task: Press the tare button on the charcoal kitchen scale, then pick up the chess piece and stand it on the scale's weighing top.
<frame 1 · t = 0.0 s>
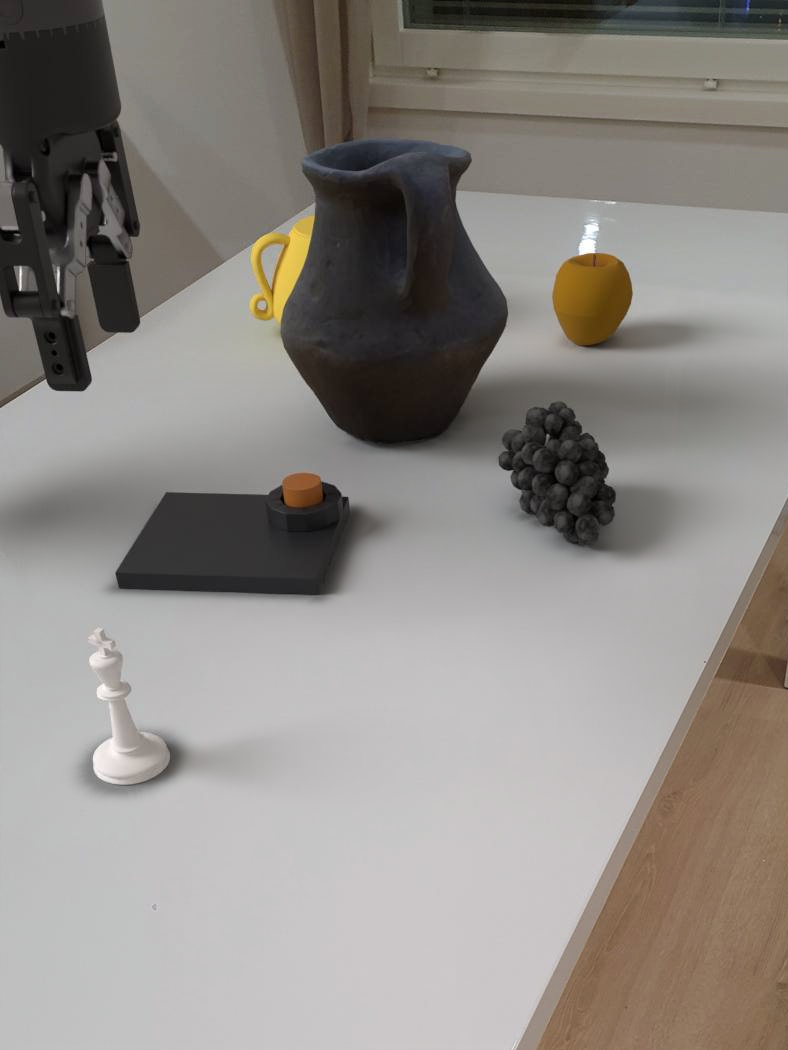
hand: (97, 358, 71), 25 cm above the table, tool pointing down, fingers open, 8 cm apart
tare button: (302, 490, 105), point 4 cm above the table, slide at 0.1 cm
pitcher: (404, 427, 123), on the table
apple: (590, 343, 139), on the table
chess piece: (132, 764, 84), on the table
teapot: (335, 323, 145), on the table
scale: (239, 548, 106), on the table
fruit: (559, 524, 108), on the table
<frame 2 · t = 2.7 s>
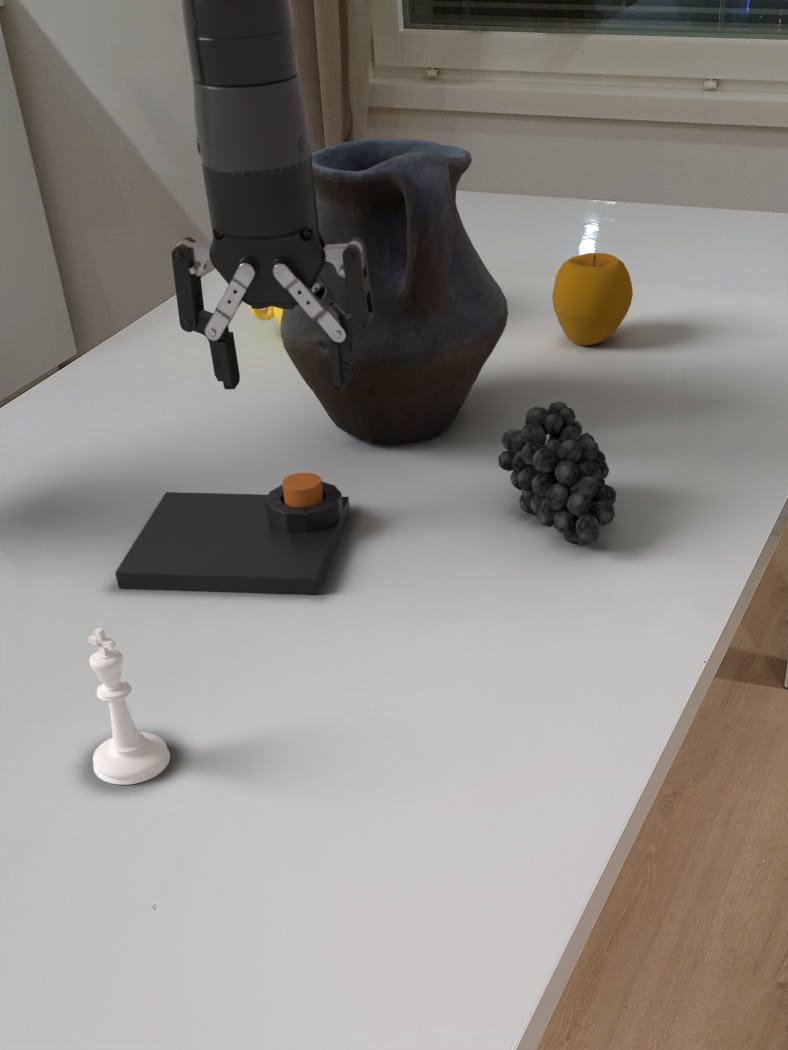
hand: (286, 386, 99), 13 cm above the table, tool pointing down, fingers open, 8 cm apart
nothing on the table moved.
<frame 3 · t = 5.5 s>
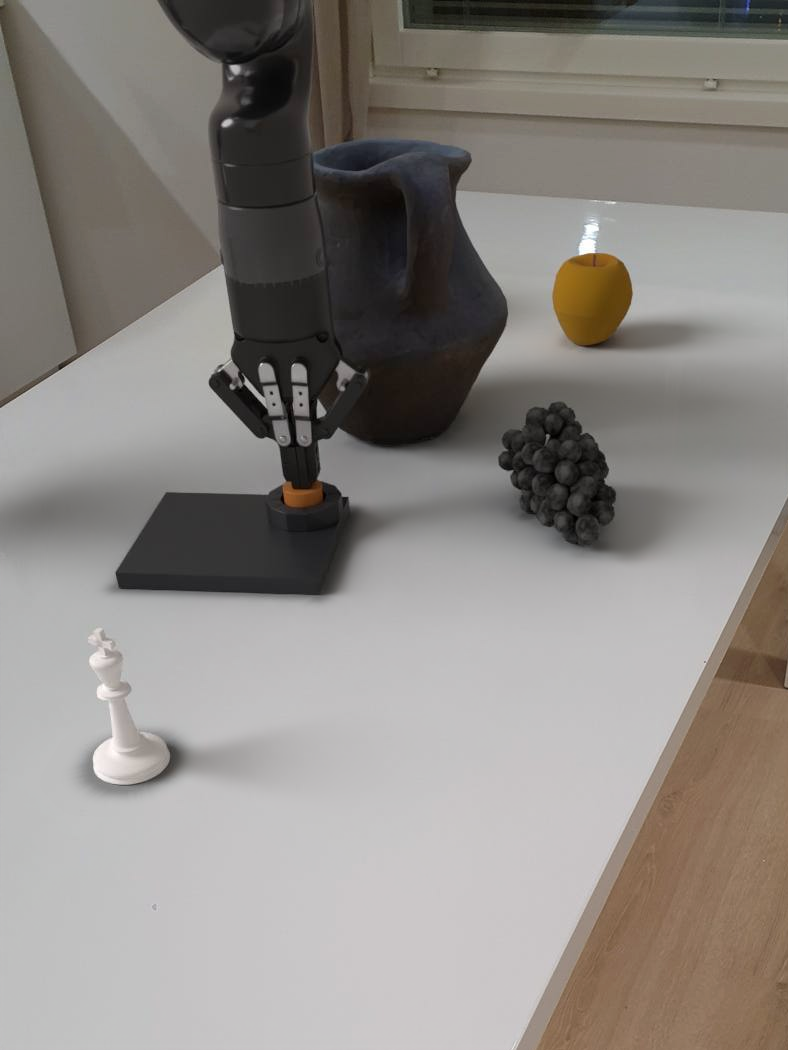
hand: (303, 484, 105), 4 cm above the table, tool pointing down, fingers closed
tare button: (303, 495, 106), point 3 cm above the table, slide at -0.3 cm, touching gripper
everything else where it was.
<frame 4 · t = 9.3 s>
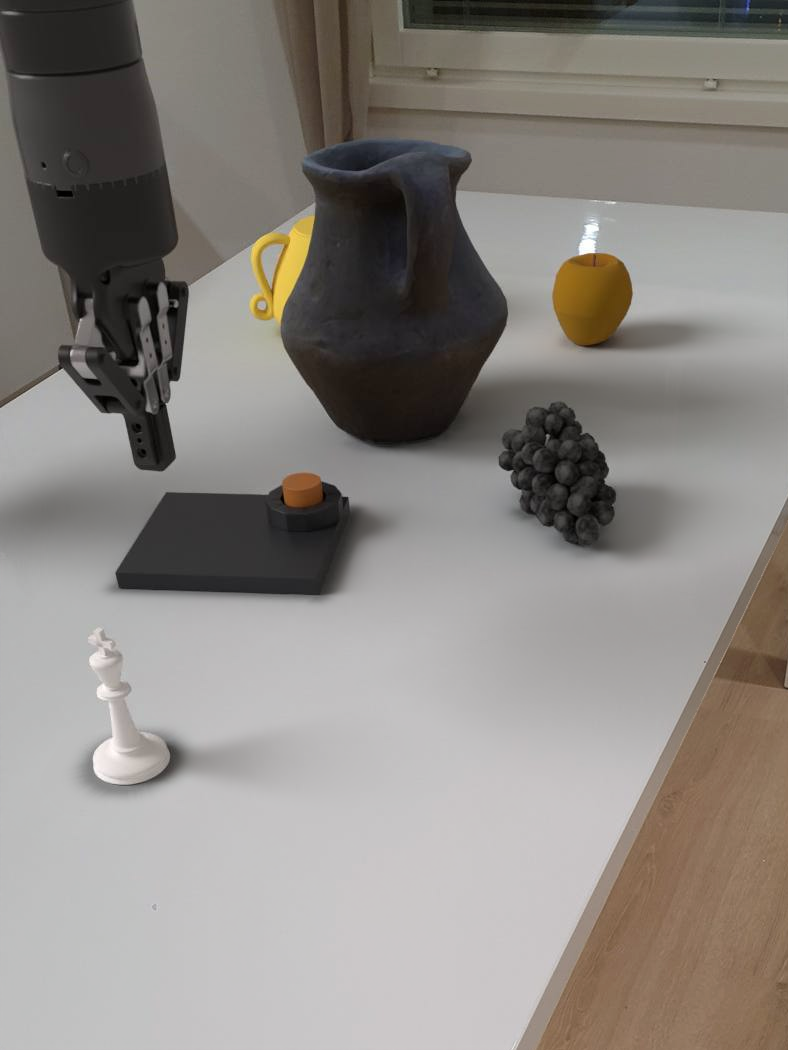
hand: (156, 465, 80), 16 cm above the table, tool pointing down, fingers closed
tare button: (302, 490, 105), point 4 cm above the table, slide at 0.1 cm
everything else where it was.
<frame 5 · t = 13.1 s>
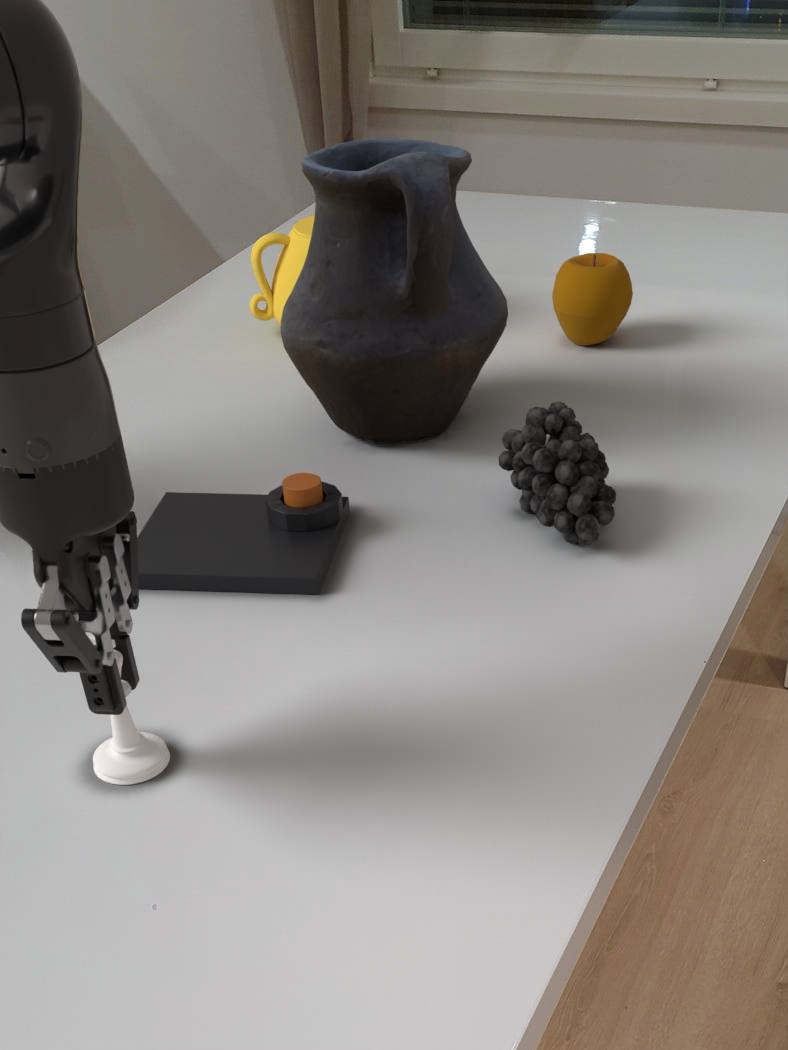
hand: (115, 698, 81), 5 cm above the table, tool pointing down, fingers closed on chess piece
chess piece: (132, 764, 84), on the table, touching gripper
everything else where it was.
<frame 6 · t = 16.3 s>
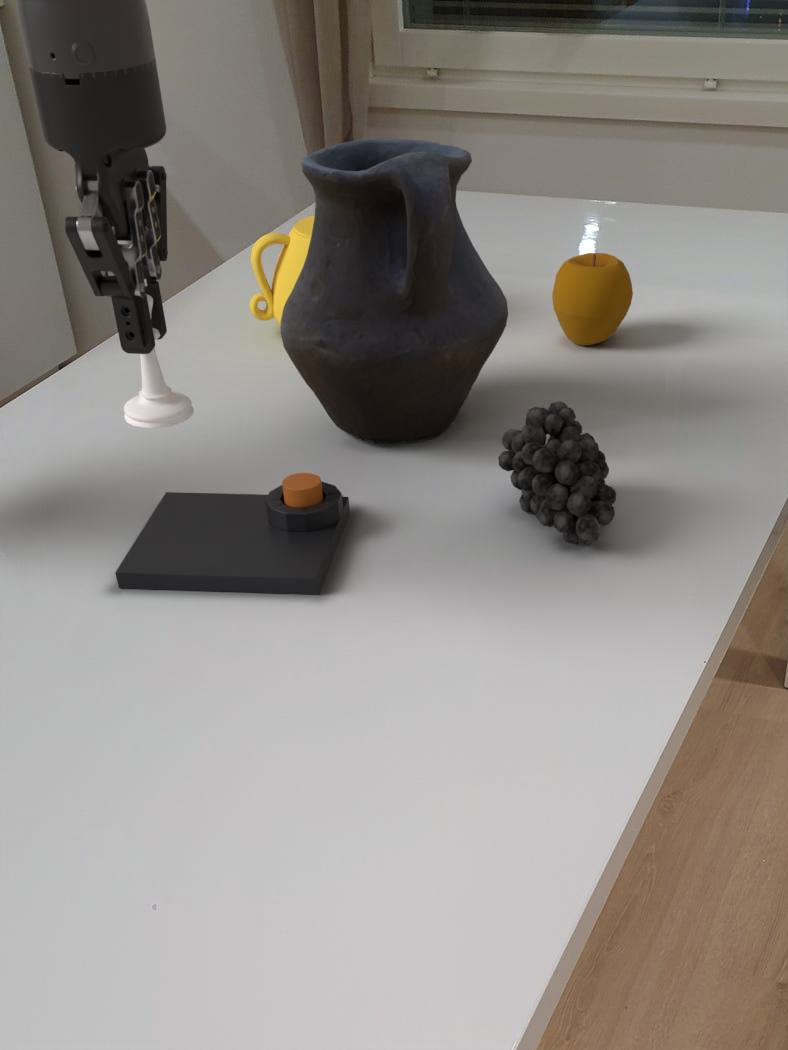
hand: (145, 343, 89), 19 cm above the table, tool pointing down, fingers closed on chess piece
chess piece: (159, 417, 92), point 14 cm above the table, touching gripper
everything else where it was.
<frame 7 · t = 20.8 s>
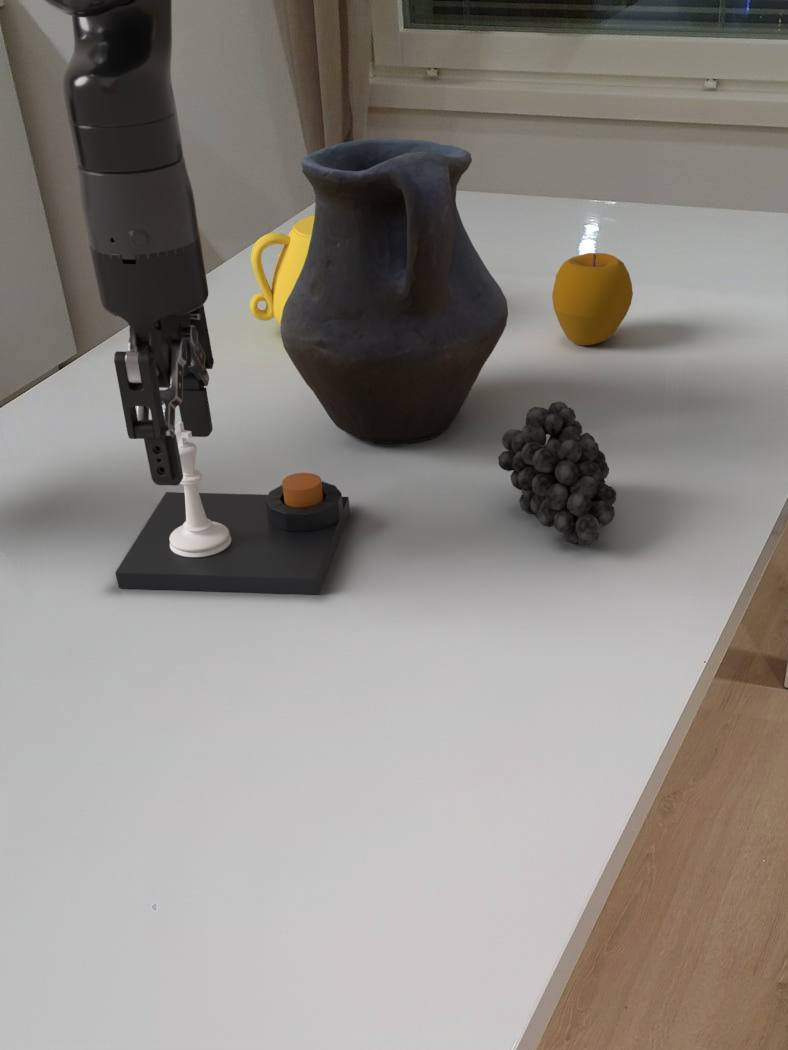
hand: (184, 458, 99), 9 cm above the table, tool pointing down, fingers open, 8 cm apart
chess piece: (201, 545, 104), point 1 cm above the table, touching scale
everything else where it was.
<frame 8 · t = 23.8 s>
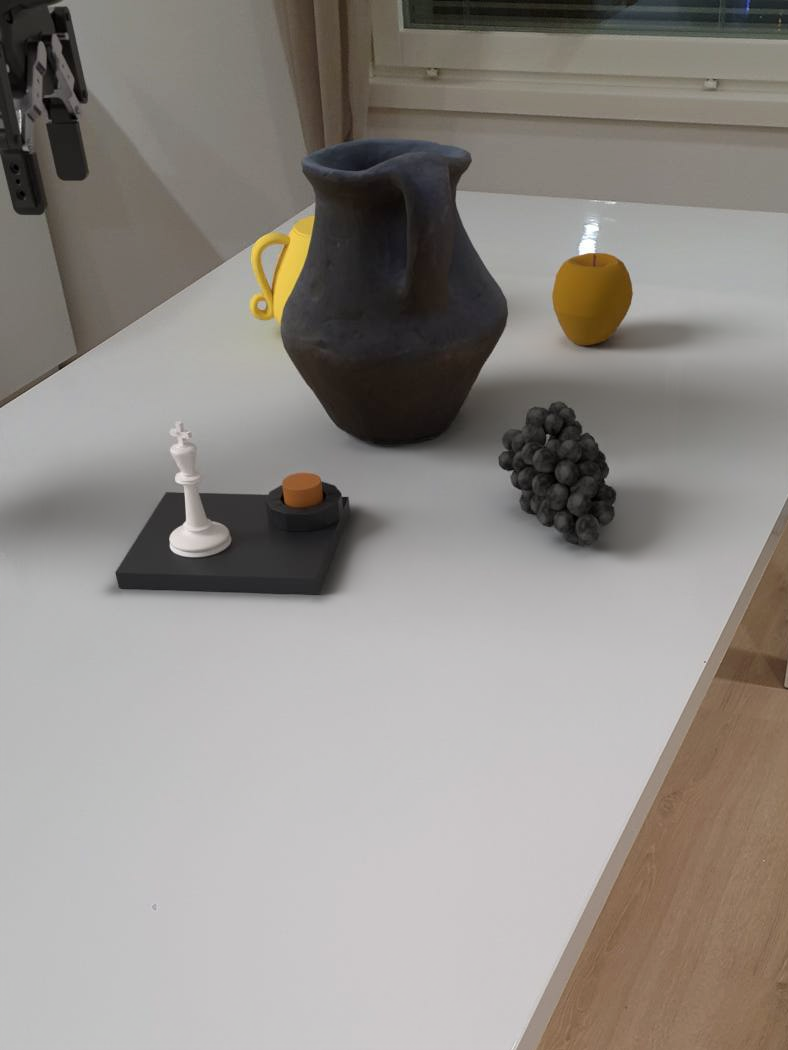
hand: (53, 196, 91), 26 cm above the table, tool pointing down, fingers open, 8 cm apart
nothing on the table moved.
at the end: tare button pushed in 0.9 cm at the most during the clip, back to where it started at the end; chess piece inside the target area on the scale (3.1 cm from its centre), point 1.2 cm above the scale's base; chess piece touching scale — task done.
